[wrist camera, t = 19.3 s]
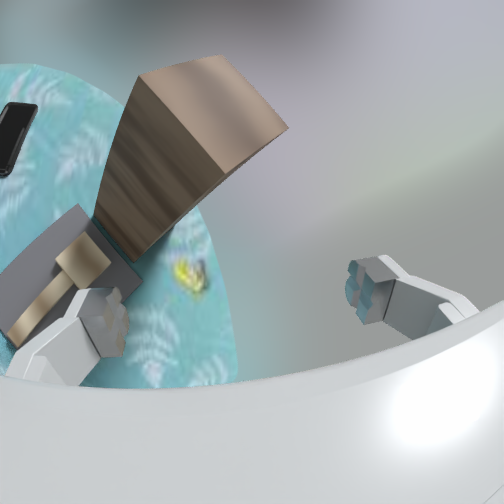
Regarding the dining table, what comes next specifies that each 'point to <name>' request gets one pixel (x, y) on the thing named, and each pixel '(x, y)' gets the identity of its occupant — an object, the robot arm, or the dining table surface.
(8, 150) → the phone
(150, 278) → the dining table surface
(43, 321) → the rubber mat
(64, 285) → the beech spatula
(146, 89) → the walnut stand
